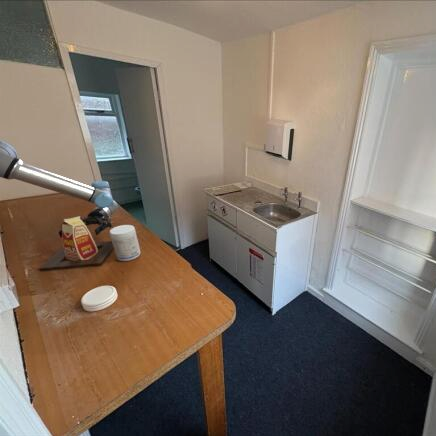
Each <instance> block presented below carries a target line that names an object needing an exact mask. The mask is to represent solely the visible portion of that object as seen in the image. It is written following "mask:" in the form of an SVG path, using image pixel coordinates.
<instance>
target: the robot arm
mask: <svg viewBox="0 0 436 436" xmlns="http://www.w3.org/2000/svg"><path fill="white" fill-rule="evenodd" d="M0 178H2V179H4V180H9V181H11V180H17V181H21V182H24V183H26V184H30V185H33V186H36V187H39V188H43V189H46V190H49V191H51V192H55V193H59V194H62V195H66V196H68V197H71V198H75V199H78V200H81V201H85V202H88V203H90V204H94V206H96V207H95V208H93V209H92V210H91V211H90V212H89V213H88V214H87V216H86V217H84V218H82V217H81V216H80V219H81V220H82V221H83V222H84V223H85V225H86V226H91V225H98V226H97V227H96V228H95V229H94V234H95V235H96V236H99V234H101V233H102V231H105V230H106V229H108V228H110V229H112V228H113V224H112V222H111V221H112V220H111V216H112V215H113V214H114V213H115V212H116V211H117V210H118V203H117V202H116V200H114V198H113V195H112V190H111V186H110V184H109V182H108V181H105V180H98V181H97V180H96V181H93V182H91V185H88V184H84V183H82V182H79V181H76V180H73V179H70V178H68V177H64V176H62V175H59V174H57V173H53V172H50V171H49V170H48V171H47V170H45V169H42V168H39V167H36V166H33V165H31V164H28V163H26V162H23V161H22V159H20V158H18V153H17V150H16V149H15V148H14V147H13V146H12V145H11V144H9V143H7V142H5V141H2V140H0ZM58 235H59V237H60V238H62V224H60V230H59V231H58Z"/></svg>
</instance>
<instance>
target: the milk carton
mask: <svg viewBox="0 0 436 436" xmlns="http://www.w3.org/2000/svg"><path fill="white" fill-rule="evenodd" d="M80 217H81V216H80V215H79V216H74V217H71V218H63V223H62V224H61V225H62V228H61V229H62V237H61V239H62V246H63V247H64V252H65V255H66V260H68V261H75V260H87V259H92V258H93V257H94V256H95V255H96V254H97V252H98V251H99V250H98V249H99V248H97V246H96V244H95V242H96V241H95V240H94V238H93V236H92V233H91V232H90V230H89V228H88V226H87V225H85V224H86V222H85V221H84V222H85V223H84V222H83V221H82V220H81V219H82V218H81V219H80Z"/></svg>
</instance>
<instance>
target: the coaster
mask: <svg viewBox="0 0 436 436" xmlns="http://www.w3.org/2000/svg"><path fill="white" fill-rule="evenodd" d="M117 300H118V292H117V289H116V287H114V286H112V285H101V286H97V287H94V288H92V289H91V290H88V291H87V292H86V293H85V294H84V295H82V297H81V299H80V303H81V306H82V308H83V310H84V311H86V312H98V311H102V310H105V309H107V308H109V307H110V306H112V305H113V304H114V303H116V301H117Z"/></svg>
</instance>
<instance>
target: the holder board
mask: <svg viewBox="0 0 436 436" xmlns="http://www.w3.org/2000/svg"><path fill="white" fill-rule="evenodd" d="M94 242H95V244H96V246H97V249H99V250H98V252H97V254H96V255H94V256H93V257H91V258H89V259H87V260H75V261H74V260H67V259H66V255H65V252H64V246H63V247H61V249H59V250H58V251H57V252H56V253H55V254H54V255H52V256H51V257H50V258H49V259H48V260H47V261H45V262H44V264H42V265H41V266H40V267H39V268H38V270H39V272H48V271H49V272H50V271H59V270H69V269H79V268H80V269H81V268H82V269H83V268H93V267H101V266H103V265H104V264H105V262H106V261H107V259H108V258H109V257H110V255H111V254H112V253H113V251H115V249H114V246H113V243H112V240H108V241H94Z"/></svg>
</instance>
